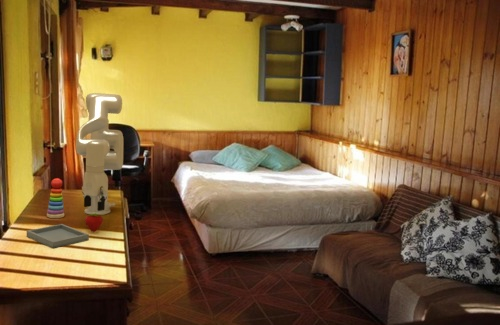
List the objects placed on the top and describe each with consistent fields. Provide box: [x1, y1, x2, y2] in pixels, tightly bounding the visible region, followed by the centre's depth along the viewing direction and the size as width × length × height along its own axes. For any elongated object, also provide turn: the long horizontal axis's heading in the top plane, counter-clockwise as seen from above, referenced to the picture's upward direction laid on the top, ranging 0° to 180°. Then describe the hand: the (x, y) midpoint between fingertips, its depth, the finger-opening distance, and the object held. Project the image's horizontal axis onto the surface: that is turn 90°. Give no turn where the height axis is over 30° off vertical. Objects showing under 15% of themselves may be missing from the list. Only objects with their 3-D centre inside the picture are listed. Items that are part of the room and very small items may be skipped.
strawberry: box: [84, 212, 104, 233], centre depth 209 cm, size 6×8×10 cm
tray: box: [26, 223, 90, 249], centre depth 198 cm, size 16×20×2 cm
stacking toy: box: [46, 177, 65, 219], centre depth 228 cm, size 8×8×19 cm
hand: (94, 208), depth 208 cm, fingers open, 9 cm apart
